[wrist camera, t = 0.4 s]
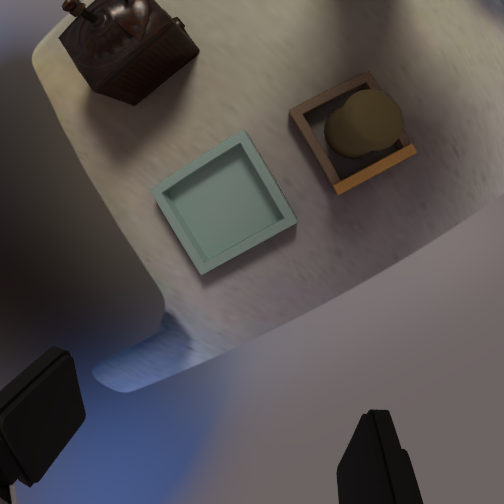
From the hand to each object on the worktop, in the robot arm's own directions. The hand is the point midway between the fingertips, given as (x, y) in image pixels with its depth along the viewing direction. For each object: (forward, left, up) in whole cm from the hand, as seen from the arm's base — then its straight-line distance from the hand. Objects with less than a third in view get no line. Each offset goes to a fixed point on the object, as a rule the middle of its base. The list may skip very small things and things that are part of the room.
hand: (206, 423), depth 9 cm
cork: (-14, -6, -28) cm, 32 cm away
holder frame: (-14, -6, -28) cm, 32 cm away
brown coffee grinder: (+1, -30, -29) cm, 41 cm away
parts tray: (+2, -6, -28) cm, 29 cm away
